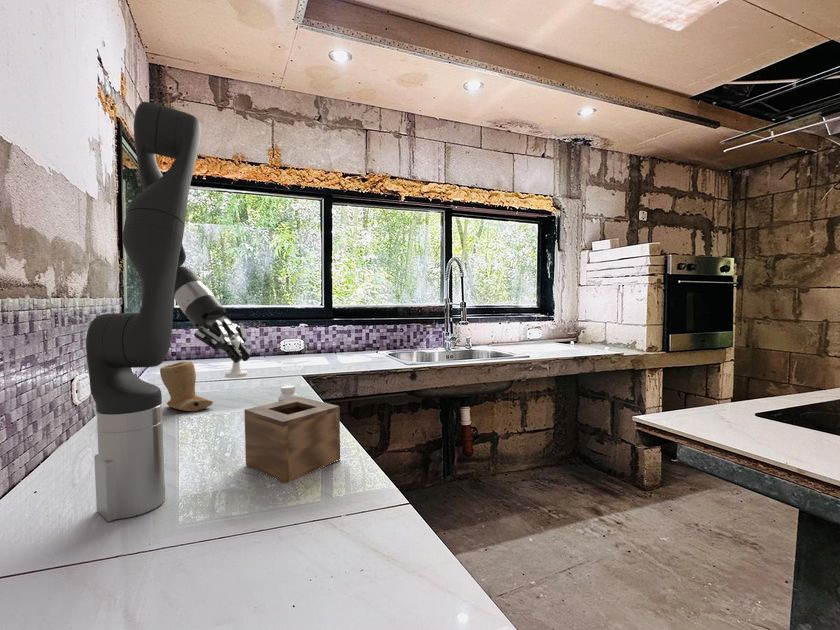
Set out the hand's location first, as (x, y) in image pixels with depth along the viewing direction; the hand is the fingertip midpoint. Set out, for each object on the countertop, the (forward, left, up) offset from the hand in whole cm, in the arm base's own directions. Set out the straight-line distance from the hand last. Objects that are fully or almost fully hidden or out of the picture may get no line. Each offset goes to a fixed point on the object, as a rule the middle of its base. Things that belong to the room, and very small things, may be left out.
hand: (243, 359), depth 96 cm
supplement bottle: (+21, +14, -22) cm, 34 cm away
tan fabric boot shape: (+8, +51, -22) cm, 57 cm away
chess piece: (-1, +2, -4) cm, 5 cm away
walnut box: (+3, -14, -22) cm, 26 cm away
